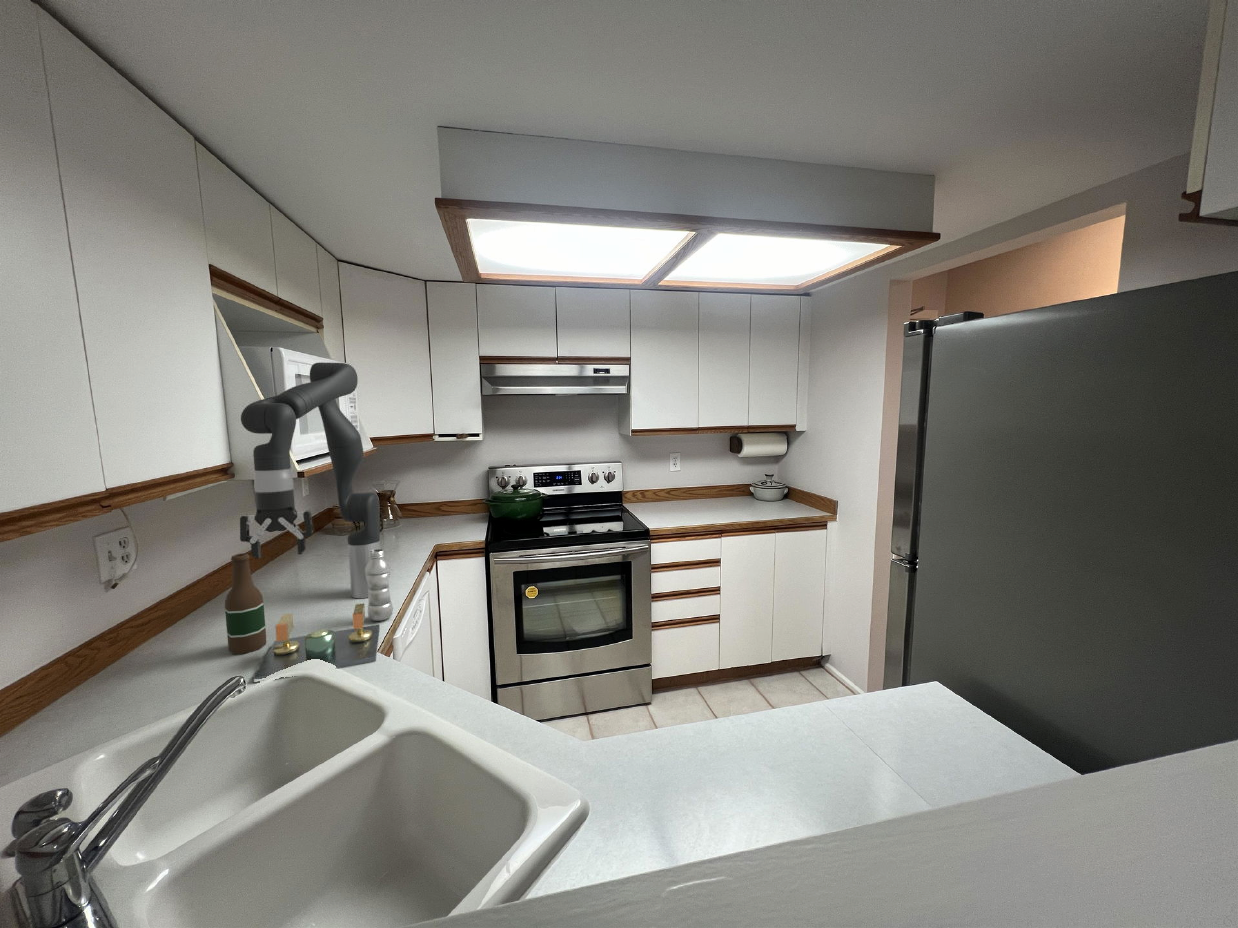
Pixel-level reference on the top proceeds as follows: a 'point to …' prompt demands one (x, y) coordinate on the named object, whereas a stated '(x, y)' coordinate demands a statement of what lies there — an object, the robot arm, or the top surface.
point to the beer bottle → (244, 610)
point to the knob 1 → (285, 636)
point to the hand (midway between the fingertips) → (279, 555)
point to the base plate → (338, 659)
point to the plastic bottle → (378, 586)
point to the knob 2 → (359, 625)
